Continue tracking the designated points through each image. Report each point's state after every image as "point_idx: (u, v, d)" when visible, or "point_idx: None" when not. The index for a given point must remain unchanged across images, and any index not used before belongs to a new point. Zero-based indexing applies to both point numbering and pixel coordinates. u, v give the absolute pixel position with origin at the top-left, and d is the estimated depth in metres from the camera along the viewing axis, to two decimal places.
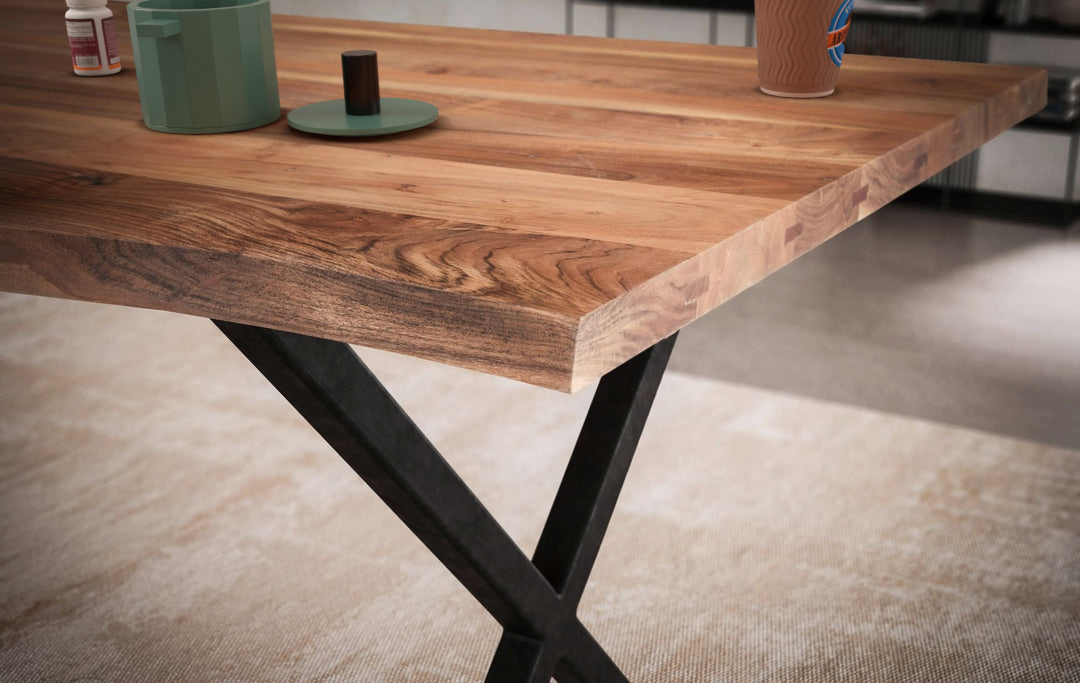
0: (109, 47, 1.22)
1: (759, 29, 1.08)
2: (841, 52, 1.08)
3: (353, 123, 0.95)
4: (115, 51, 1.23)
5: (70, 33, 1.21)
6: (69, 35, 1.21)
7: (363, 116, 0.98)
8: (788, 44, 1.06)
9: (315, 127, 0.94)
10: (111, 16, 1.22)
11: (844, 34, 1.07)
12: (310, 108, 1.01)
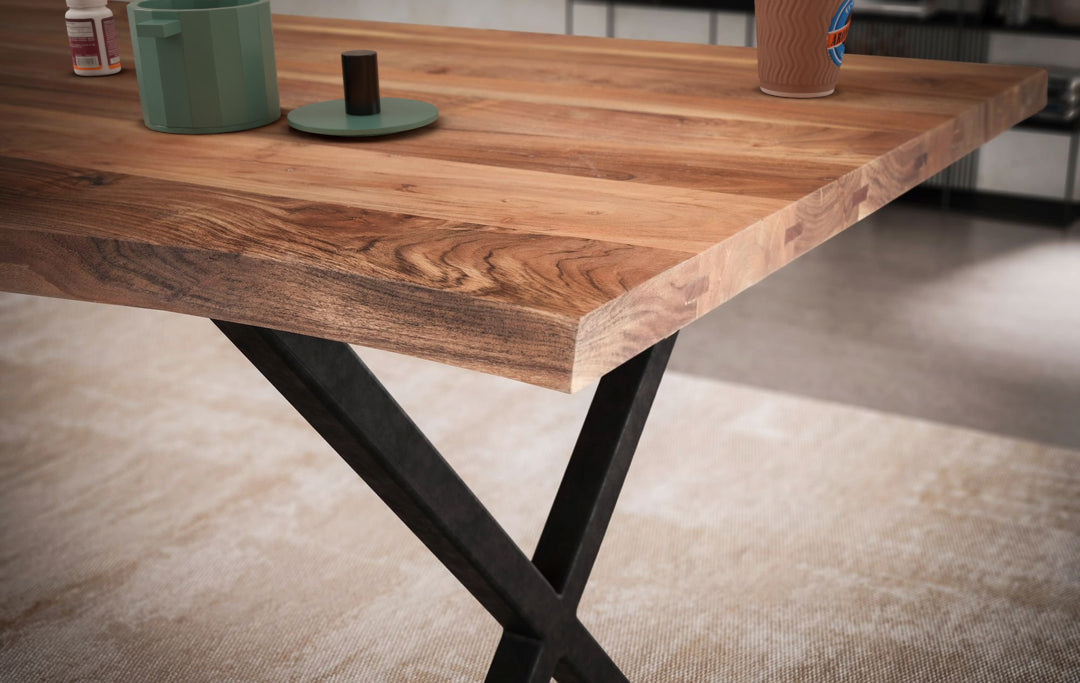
0: (109, 47, 1.22)
1: (759, 29, 1.08)
2: (841, 52, 1.08)
3: (353, 123, 0.95)
4: (115, 51, 1.23)
5: (70, 33, 1.21)
6: (69, 35, 1.21)
7: (363, 116, 0.98)
8: (788, 44, 1.06)
9: (315, 127, 0.94)
10: (111, 16, 1.22)
11: (844, 34, 1.07)
12: (310, 108, 1.01)
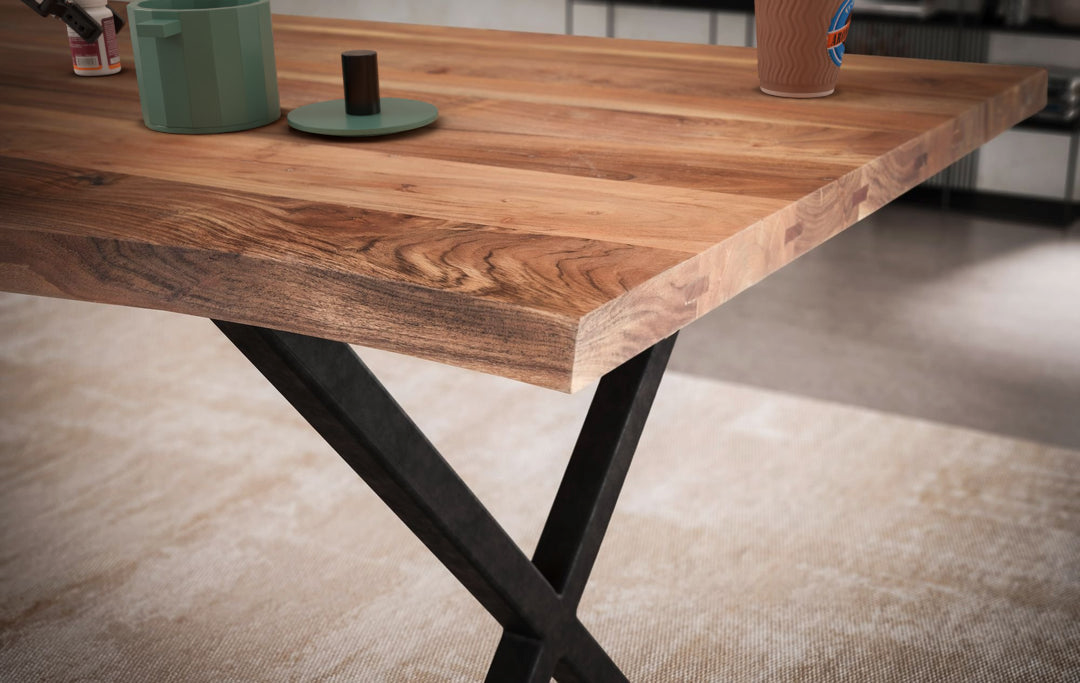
0: (109, 47, 1.22)
1: (759, 29, 1.08)
2: (841, 52, 1.08)
3: (353, 123, 0.95)
4: (115, 51, 1.23)
5: (70, 33, 1.21)
6: (69, 35, 1.21)
7: (363, 116, 0.98)
8: (788, 44, 1.06)
9: (315, 127, 0.94)
10: (111, 16, 1.22)
11: (844, 34, 1.07)
12: (310, 108, 1.01)
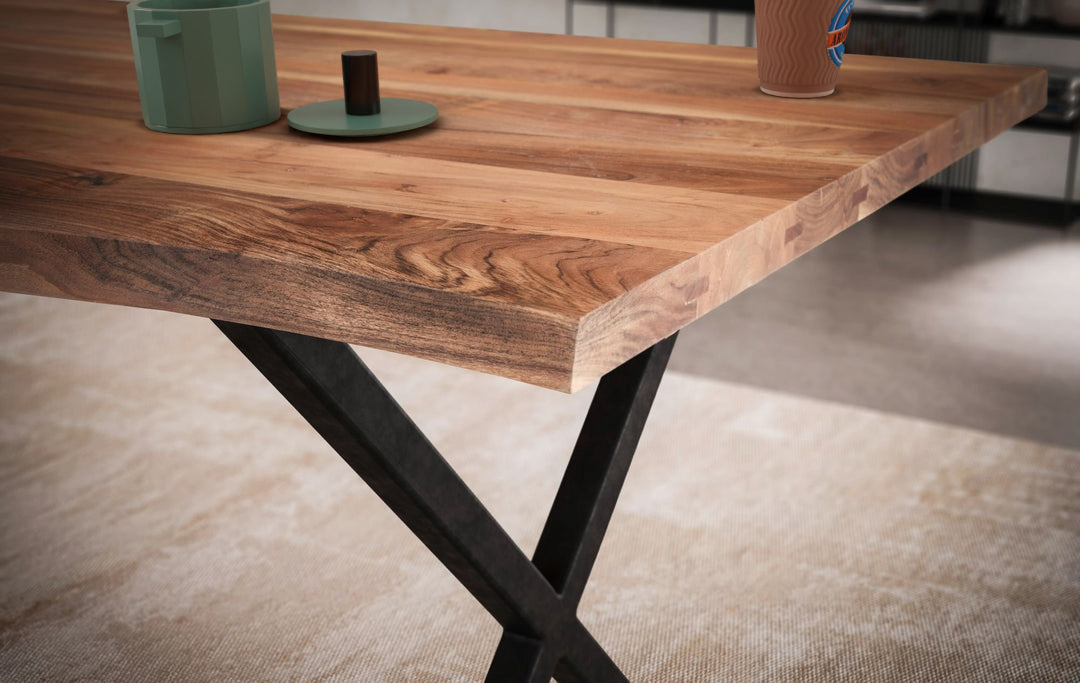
0: None
1: (759, 29, 1.08)
2: (841, 52, 1.08)
3: (353, 123, 0.95)
4: None
5: None
6: None
7: (363, 116, 0.98)
8: (788, 44, 1.06)
9: (315, 127, 0.94)
10: None
11: (844, 34, 1.07)
12: (310, 108, 1.01)
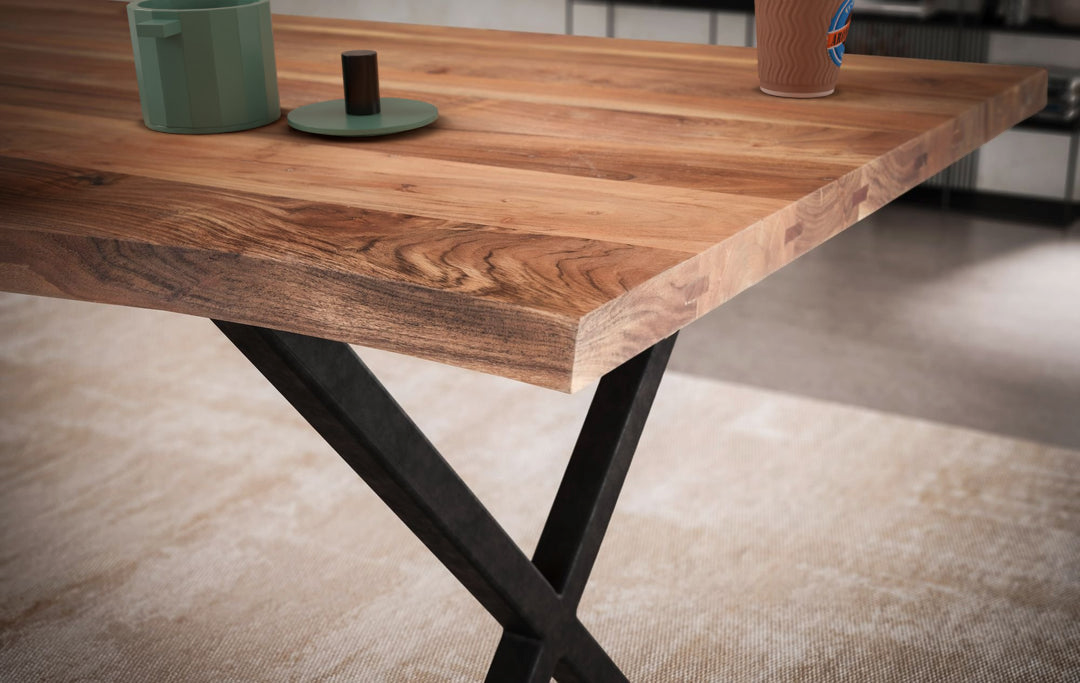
0: None
1: (759, 29, 1.08)
2: (841, 52, 1.08)
3: (353, 123, 0.95)
4: None
5: None
6: None
7: (363, 116, 0.98)
8: (788, 44, 1.06)
9: (315, 127, 0.94)
10: None
11: (844, 34, 1.07)
12: (310, 108, 1.01)
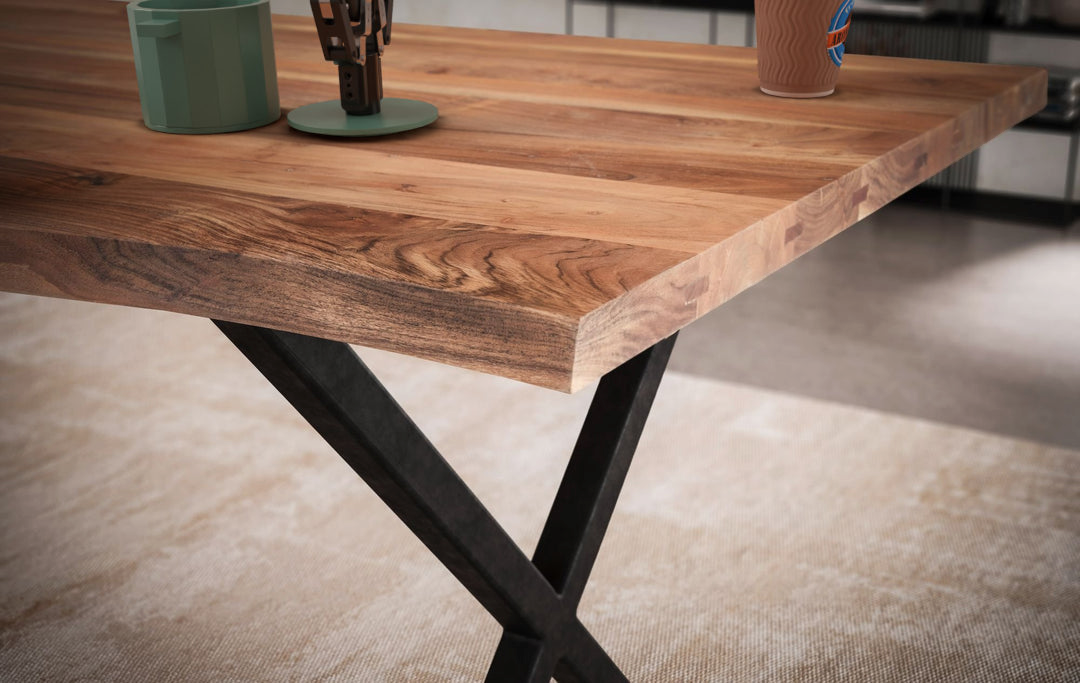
0: None
1: (759, 29, 1.08)
2: (841, 52, 1.08)
3: (353, 123, 0.95)
4: None
5: None
6: None
7: (363, 116, 0.98)
8: (788, 44, 1.06)
9: (315, 127, 0.94)
10: None
11: (844, 34, 1.07)
12: (310, 108, 1.01)
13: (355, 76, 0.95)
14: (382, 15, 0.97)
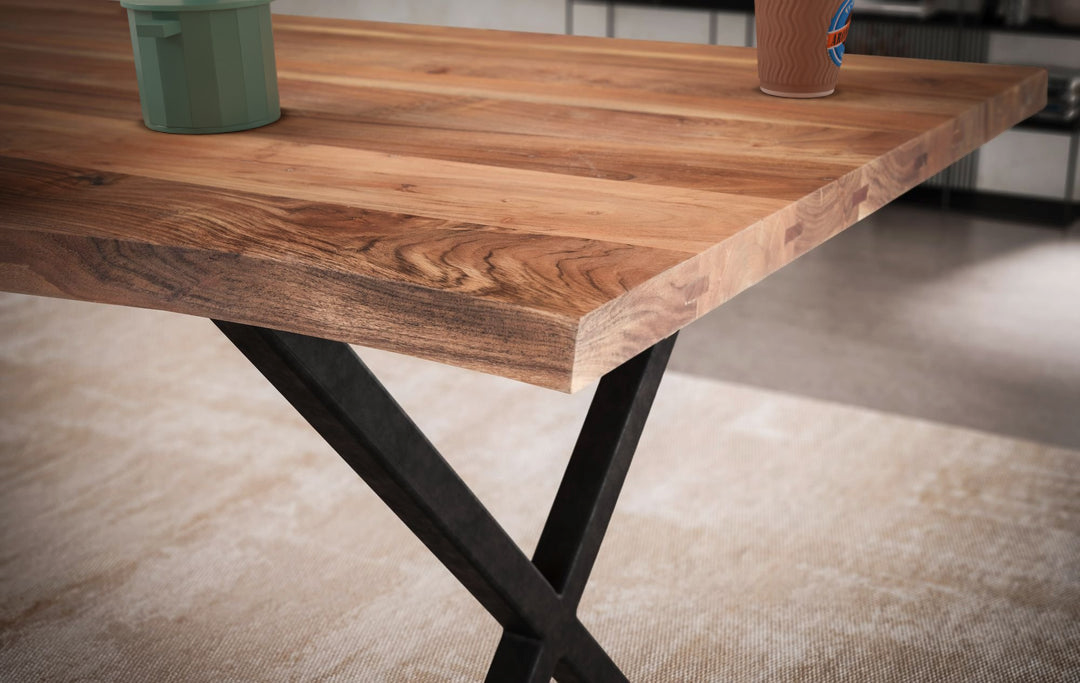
0: None
1: (759, 29, 1.08)
2: (841, 52, 1.08)
3: (182, 1, 0.95)
4: None
5: None
6: None
7: None
8: (788, 44, 1.06)
9: (142, 4, 0.93)
10: None
11: (844, 34, 1.07)
12: None
13: None
14: None
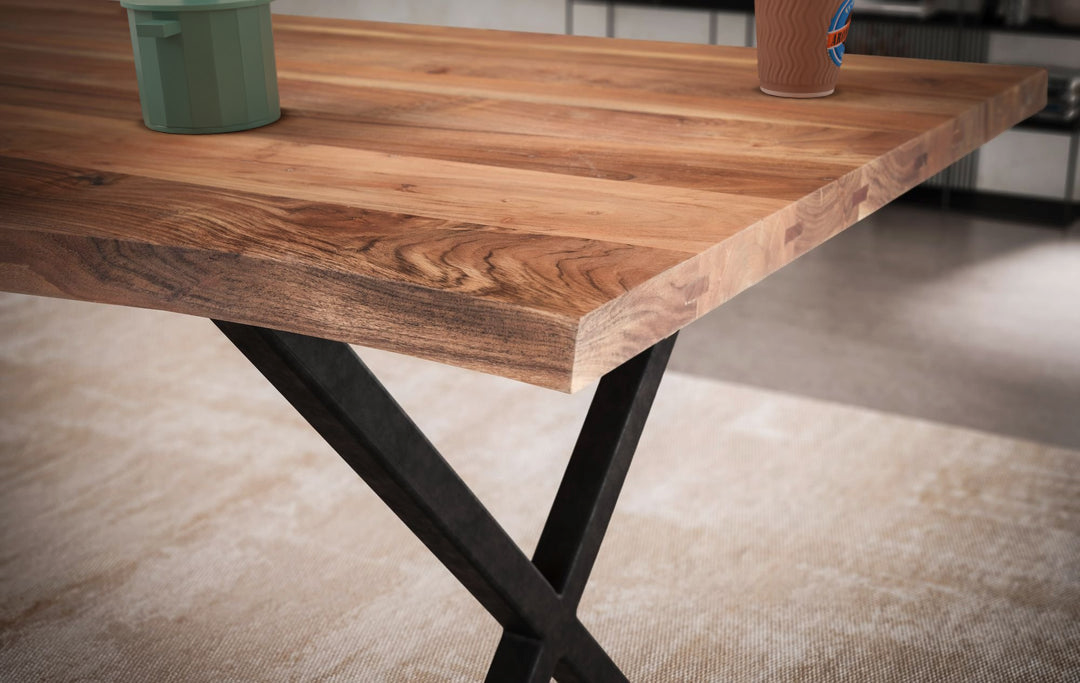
0: None
1: (759, 29, 1.08)
2: (841, 52, 1.08)
3: (182, 1, 0.95)
4: None
5: None
6: None
7: None
8: (788, 44, 1.06)
9: (142, 4, 0.93)
10: None
11: (844, 34, 1.07)
12: None
13: None
14: None
